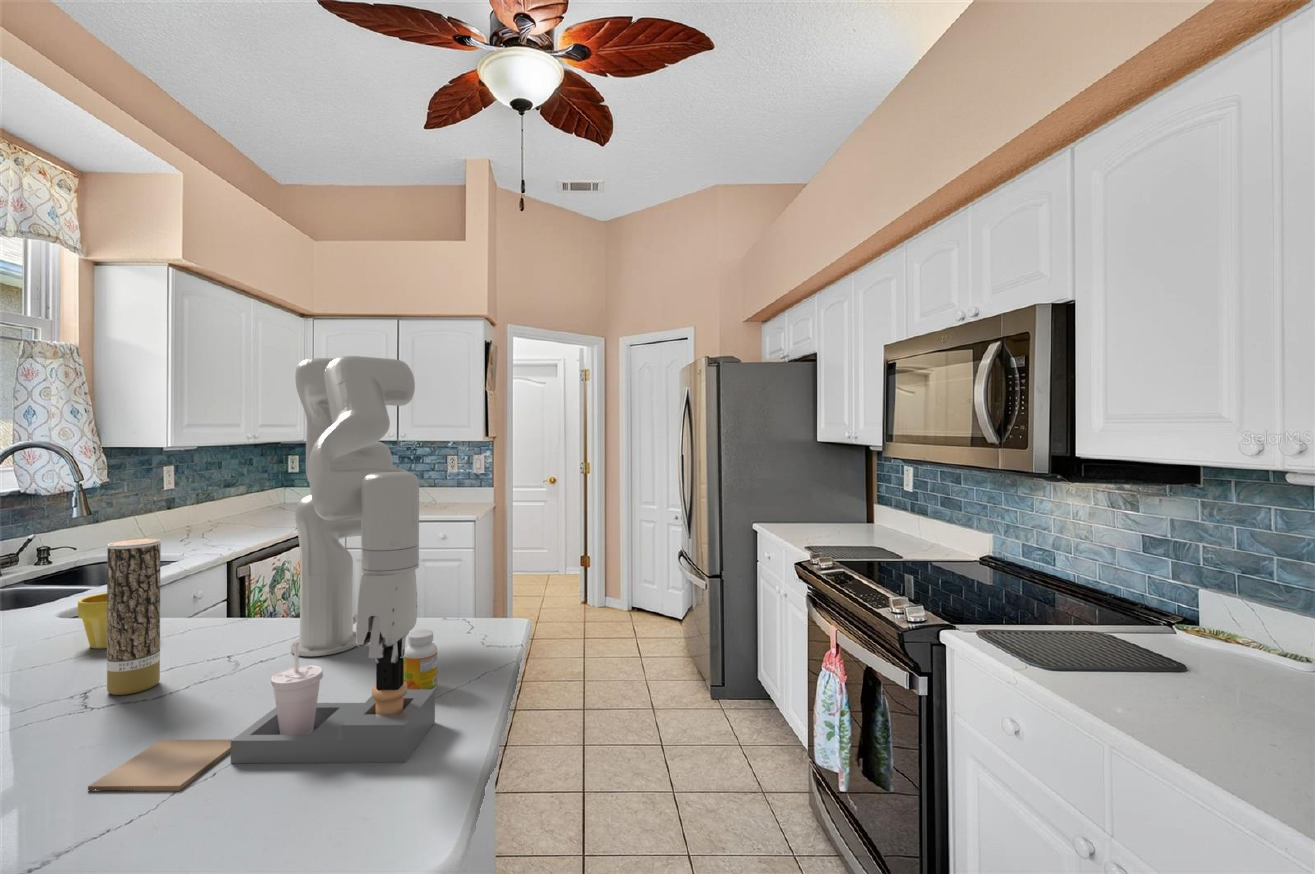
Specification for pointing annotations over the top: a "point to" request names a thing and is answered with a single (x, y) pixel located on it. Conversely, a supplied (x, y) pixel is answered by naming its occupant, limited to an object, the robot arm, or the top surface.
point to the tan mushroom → (389, 700)
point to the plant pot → (94, 619)
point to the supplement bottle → (420, 661)
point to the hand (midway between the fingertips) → (390, 687)
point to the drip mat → (165, 766)
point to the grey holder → (342, 734)
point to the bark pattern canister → (133, 615)
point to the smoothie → (296, 696)
